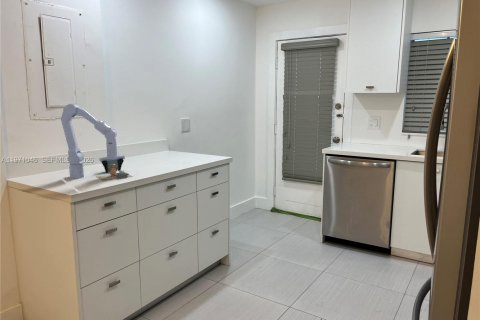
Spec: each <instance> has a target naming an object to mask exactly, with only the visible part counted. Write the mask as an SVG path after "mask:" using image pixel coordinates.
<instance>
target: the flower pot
mask: <svg viewBox="0 0 480 320" xmlns="http://www.w3.org/2000/svg"><path fill="white" fill-rule="evenodd" d="M107 162H108V167H107V168H108V173H110V164H116V172H118V162H117V160H109V161H107Z"/></svg>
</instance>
